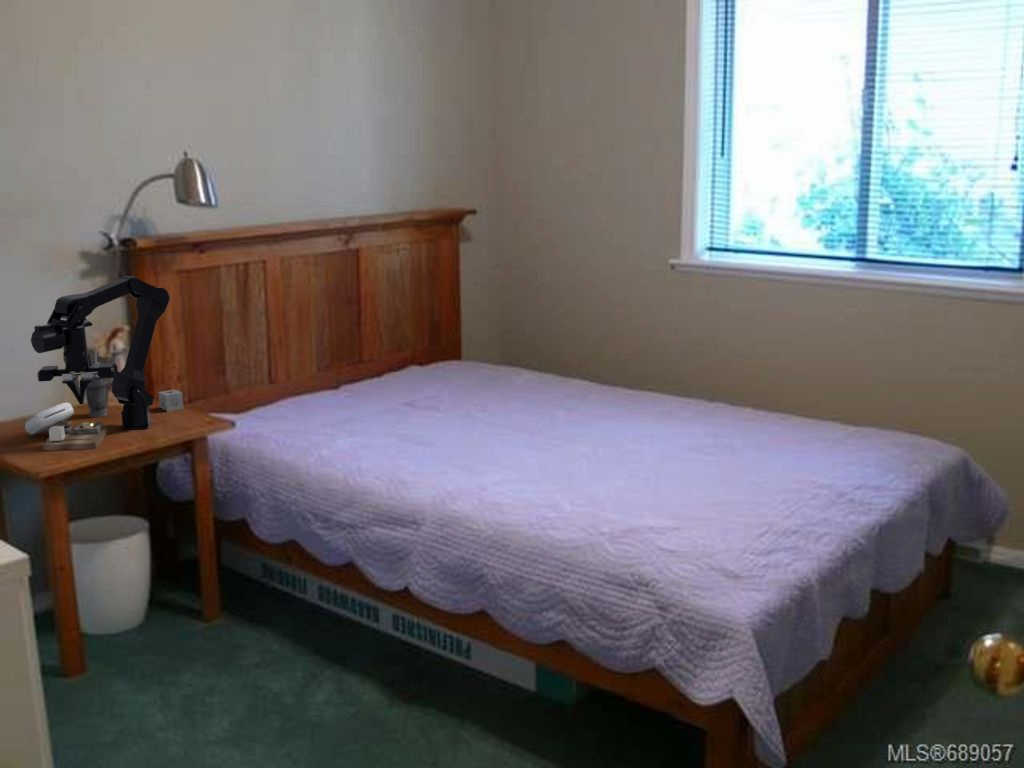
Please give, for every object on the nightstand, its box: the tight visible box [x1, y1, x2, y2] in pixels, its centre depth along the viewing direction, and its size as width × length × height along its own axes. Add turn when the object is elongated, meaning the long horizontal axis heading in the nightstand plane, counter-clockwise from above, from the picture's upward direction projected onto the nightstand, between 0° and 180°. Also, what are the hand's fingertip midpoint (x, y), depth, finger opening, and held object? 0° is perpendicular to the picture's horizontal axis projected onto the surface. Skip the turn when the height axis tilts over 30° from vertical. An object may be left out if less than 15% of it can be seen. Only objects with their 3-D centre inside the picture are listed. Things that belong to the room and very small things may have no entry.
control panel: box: [41, 421, 108, 451], centre depth 289 cm, size 13×14×3 cm
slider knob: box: [48, 425, 65, 441], centre depth 285 cm, size 3×3×3 cm
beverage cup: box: [80, 346, 109, 418], centre depth 311 cm, size 7×7×20 cm
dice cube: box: [158, 389, 184, 412], centre depth 319 cm, size 5×5×5 cm
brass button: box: [81, 421, 95, 428], centre depth 293 cm, size 3×3×2 cm
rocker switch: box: [56, 420, 73, 426], centre depth 292 cm, size 3×4×1 cm, turn 8°
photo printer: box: [24, 402, 75, 436], centre depth 293 cm, size 10×4×12 cm
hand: (81, 403), depth 287 cm, fingers closed
